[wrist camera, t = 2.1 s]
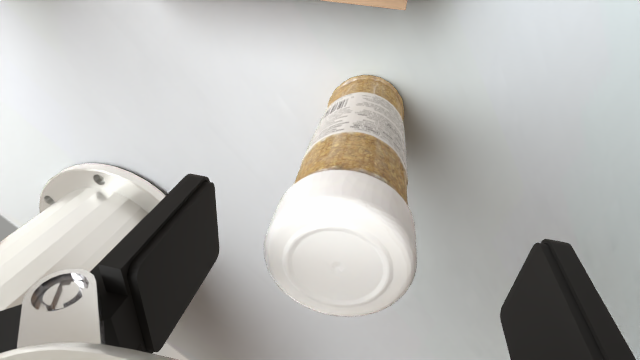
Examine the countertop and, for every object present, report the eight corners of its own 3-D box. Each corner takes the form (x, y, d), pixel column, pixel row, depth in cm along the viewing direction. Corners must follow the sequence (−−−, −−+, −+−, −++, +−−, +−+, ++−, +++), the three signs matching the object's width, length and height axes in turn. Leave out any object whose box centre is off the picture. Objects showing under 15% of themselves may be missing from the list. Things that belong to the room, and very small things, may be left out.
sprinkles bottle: (352, 157, 24) (314, 337, 12) (313, 97, 22) (228, 239, 11) (419, 124, 22) (446, 299, 11) (381, 56, 21) (365, 175, 9)
